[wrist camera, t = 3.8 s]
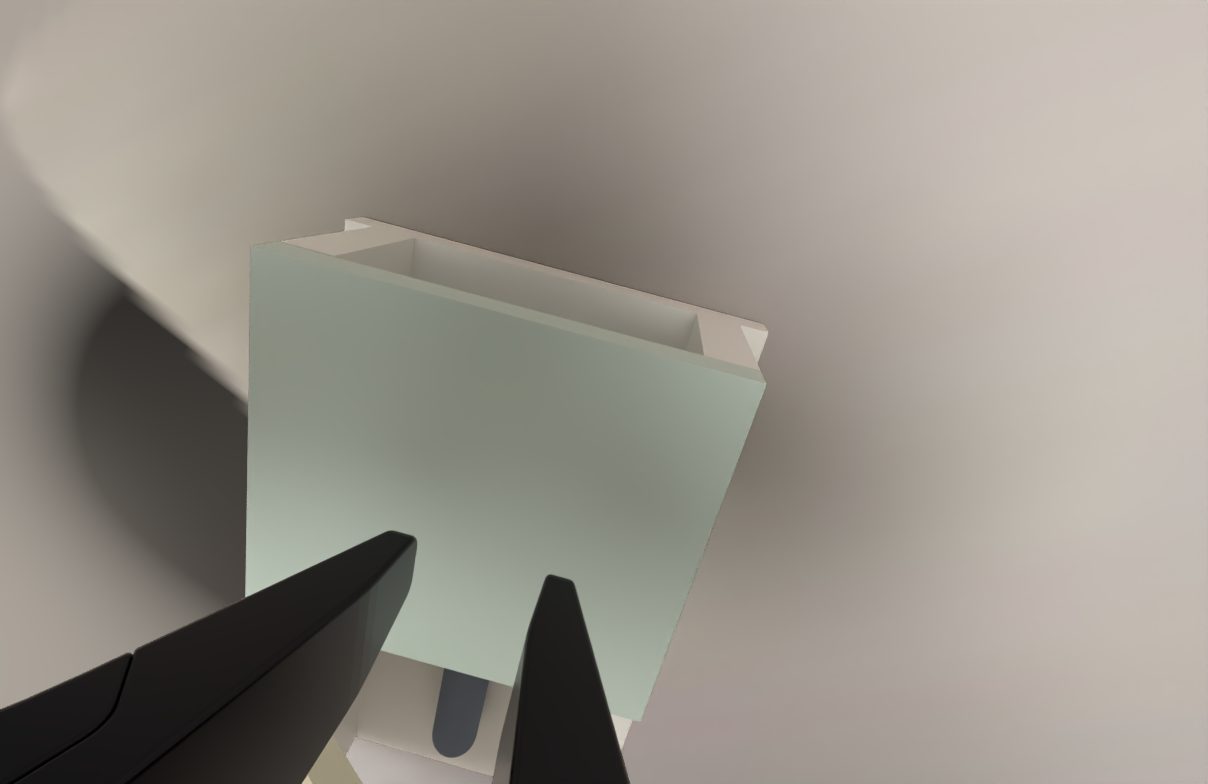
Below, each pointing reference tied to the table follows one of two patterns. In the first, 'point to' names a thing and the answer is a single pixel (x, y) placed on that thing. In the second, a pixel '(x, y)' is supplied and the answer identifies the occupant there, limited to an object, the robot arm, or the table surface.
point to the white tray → (409, 687)
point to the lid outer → (484, 460)
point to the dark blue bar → (458, 712)
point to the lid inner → (332, 767)
